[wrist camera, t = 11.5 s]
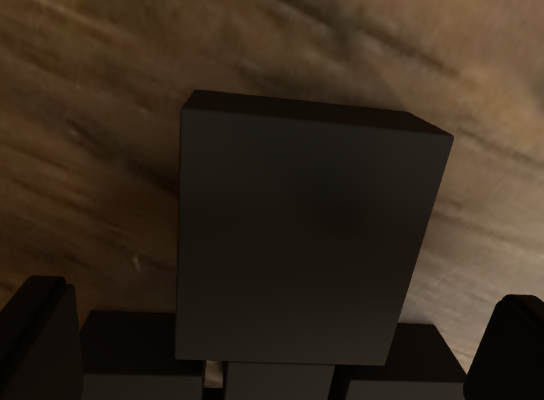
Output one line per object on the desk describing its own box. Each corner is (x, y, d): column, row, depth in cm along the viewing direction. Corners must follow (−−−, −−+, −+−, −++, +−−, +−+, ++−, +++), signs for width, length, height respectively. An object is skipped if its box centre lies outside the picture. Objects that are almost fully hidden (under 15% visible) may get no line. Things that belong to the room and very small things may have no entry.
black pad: (183, 373, 17) (172, 440, 14) (193, 88, 12) (180, 107, 9) (343, 377, 18) (361, 442, 15) (410, 112, 13) (456, 135, 10)
